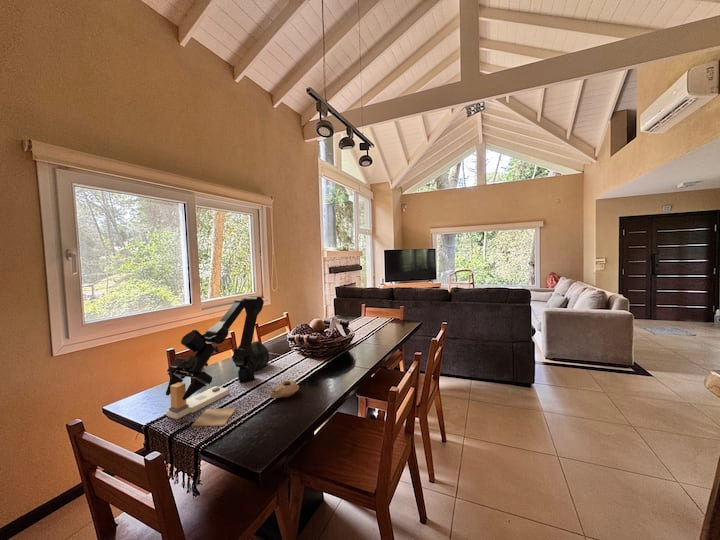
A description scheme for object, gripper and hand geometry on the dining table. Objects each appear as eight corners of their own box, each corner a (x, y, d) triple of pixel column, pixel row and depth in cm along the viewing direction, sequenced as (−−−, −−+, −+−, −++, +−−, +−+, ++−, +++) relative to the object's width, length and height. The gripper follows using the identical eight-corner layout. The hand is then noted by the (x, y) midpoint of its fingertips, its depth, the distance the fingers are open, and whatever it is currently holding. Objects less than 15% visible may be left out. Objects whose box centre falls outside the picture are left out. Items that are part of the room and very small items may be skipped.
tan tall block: (180, 410, 111) (179, 381, 111) (188, 412, 110) (187, 383, 109) (169, 415, 107) (167, 386, 107) (177, 418, 106) (175, 388, 105)
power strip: (215, 390, 127) (215, 384, 127) (229, 393, 124) (228, 387, 124) (164, 415, 108) (164, 408, 107) (178, 420, 104) (178, 412, 104)
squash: (234, 355, 157) (239, 338, 149) (262, 351, 166) (268, 334, 157) (239, 379, 148) (244, 363, 140) (268, 373, 157) (275, 357, 149)
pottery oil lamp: (263, 398, 119) (266, 379, 122) (290, 399, 126) (291, 381, 129) (274, 397, 113) (276, 377, 116) (301, 398, 120) (302, 379, 124)
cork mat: (206, 410, 111) (206, 409, 111) (236, 409, 111) (236, 407, 111) (191, 426, 100) (190, 425, 100) (223, 425, 100) (223, 424, 100)
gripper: (170, 345, 115) (141, 384, 105) (204, 350, 108) (175, 392, 98) (190, 358, 123) (164, 396, 113) (222, 364, 115) (198, 405, 105)
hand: (174, 397), depth 107 cm, fingers open, 9 cm apart
